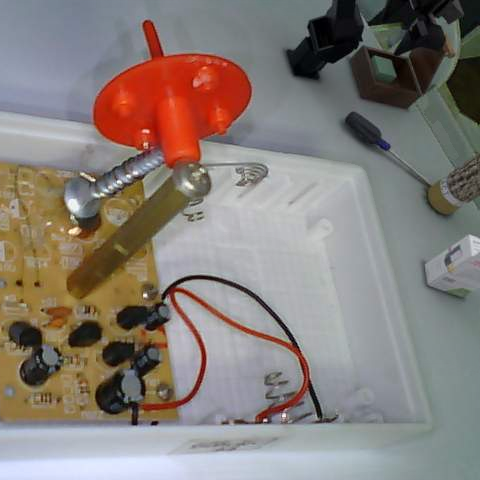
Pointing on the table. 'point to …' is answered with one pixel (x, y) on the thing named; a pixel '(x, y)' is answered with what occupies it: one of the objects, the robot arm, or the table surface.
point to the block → (383, 69)
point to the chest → (395, 94)
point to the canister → (456, 187)
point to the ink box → (456, 268)
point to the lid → (429, 61)
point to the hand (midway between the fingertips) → (389, 37)
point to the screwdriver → (374, 137)
